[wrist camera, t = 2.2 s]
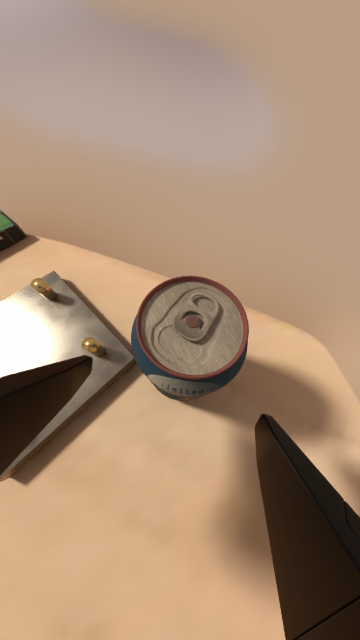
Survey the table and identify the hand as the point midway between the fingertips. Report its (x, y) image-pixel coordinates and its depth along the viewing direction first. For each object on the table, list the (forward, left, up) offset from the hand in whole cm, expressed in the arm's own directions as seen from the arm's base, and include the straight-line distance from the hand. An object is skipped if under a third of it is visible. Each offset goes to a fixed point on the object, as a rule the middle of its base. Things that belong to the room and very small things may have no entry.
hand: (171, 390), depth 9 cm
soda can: (+2, -3, -11) cm, 11 cm away
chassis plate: (+14, +7, -10) cm, 18 cm away
